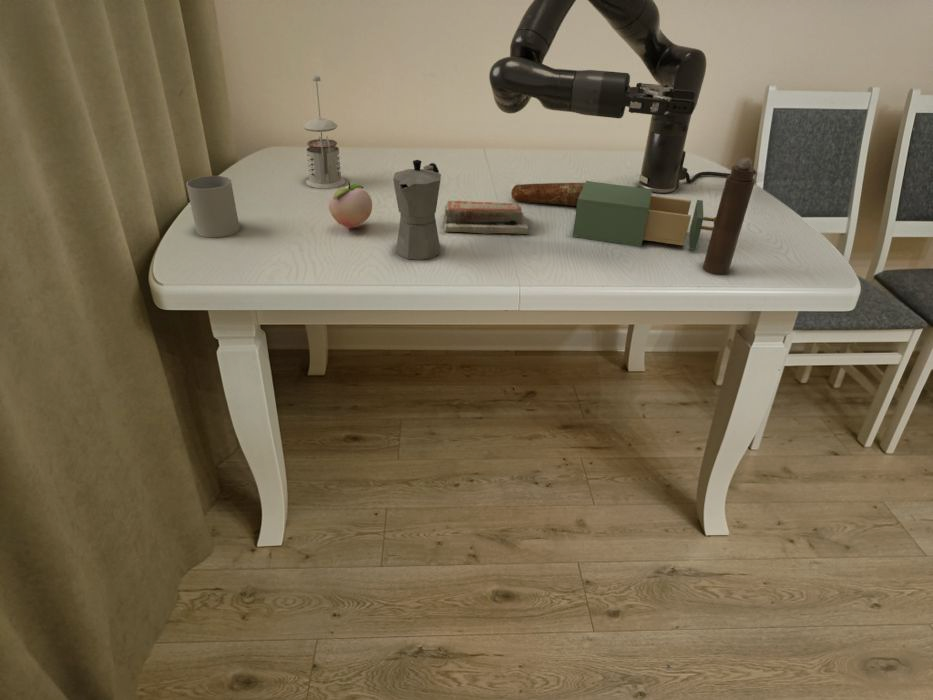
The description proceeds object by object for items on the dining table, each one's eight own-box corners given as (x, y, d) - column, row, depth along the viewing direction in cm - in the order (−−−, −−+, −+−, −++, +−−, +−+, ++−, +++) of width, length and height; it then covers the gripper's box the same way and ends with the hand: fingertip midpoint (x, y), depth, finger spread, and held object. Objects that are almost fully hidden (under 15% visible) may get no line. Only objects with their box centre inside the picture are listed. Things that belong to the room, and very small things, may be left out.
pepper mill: (715, 262, 124) (745, 152, 112) (733, 272, 120) (767, 160, 108) (697, 266, 122) (726, 155, 110) (715, 276, 118) (747, 162, 106)
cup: (199, 239, 125) (189, 191, 119) (194, 225, 131) (183, 178, 125) (243, 233, 128) (234, 185, 122) (235, 219, 134) (227, 173, 129)
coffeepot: (425, 268, 117) (425, 173, 107) (381, 259, 120) (377, 166, 110) (456, 238, 129) (458, 151, 119) (415, 231, 132) (414, 145, 122)
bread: (590, 210, 146) (593, 187, 143) (509, 203, 148) (511, 180, 145) (590, 201, 151) (593, 179, 148) (512, 195, 153) (514, 172, 150)
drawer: (715, 232, 135) (723, 203, 131) (717, 252, 126) (725, 221, 122) (633, 221, 139) (638, 192, 135) (629, 240, 130) (634, 209, 126)
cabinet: (645, 225, 139) (652, 189, 134) (641, 246, 129) (649, 208, 125) (581, 216, 142) (586, 180, 138) (572, 236, 132) (577, 198, 128)
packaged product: (443, 211, 129) (444, 195, 137) (443, 233, 132) (444, 216, 140) (530, 213, 130) (525, 197, 138) (528, 235, 132) (524, 218, 140)
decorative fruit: (360, 239, 127) (357, 192, 122) (325, 233, 130) (320, 186, 124) (381, 224, 135) (379, 178, 129) (347, 218, 137) (344, 173, 131)
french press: (342, 174, 162) (334, 71, 148) (349, 189, 153) (341, 80, 139) (303, 177, 159) (292, 72, 146) (309, 192, 150) (297, 81, 137)
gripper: (597, 77, 103) (699, 86, 99) (607, 65, 115) (698, 72, 111) (591, 124, 107) (688, 134, 104) (601, 107, 119) (689, 116, 115)
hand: (693, 102), depth 107 cm, fingers open, 8 cm apart
